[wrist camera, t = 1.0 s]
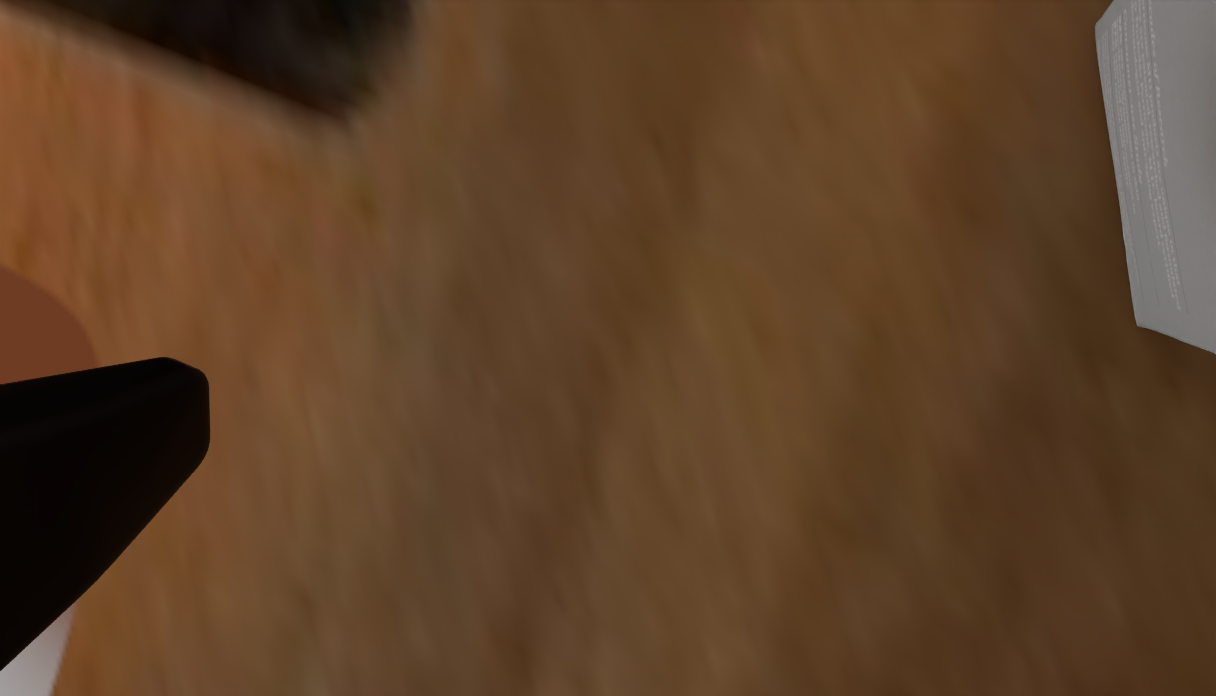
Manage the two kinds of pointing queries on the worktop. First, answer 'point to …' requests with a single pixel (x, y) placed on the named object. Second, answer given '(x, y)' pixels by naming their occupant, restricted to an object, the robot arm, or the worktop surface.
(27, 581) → the robot arm
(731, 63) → the worktop surface
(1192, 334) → the cosmetic box
